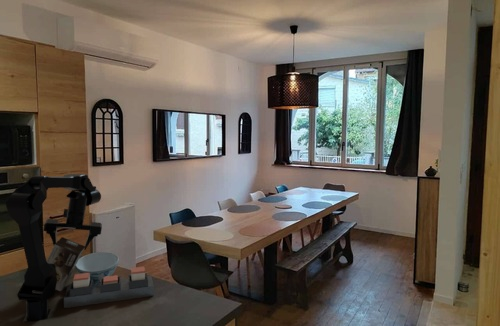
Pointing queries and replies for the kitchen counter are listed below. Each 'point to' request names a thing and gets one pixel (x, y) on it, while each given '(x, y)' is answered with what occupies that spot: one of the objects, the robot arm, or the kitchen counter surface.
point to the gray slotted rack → (108, 292)
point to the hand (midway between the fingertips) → (70, 249)
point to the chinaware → (98, 265)
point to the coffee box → (64, 260)
